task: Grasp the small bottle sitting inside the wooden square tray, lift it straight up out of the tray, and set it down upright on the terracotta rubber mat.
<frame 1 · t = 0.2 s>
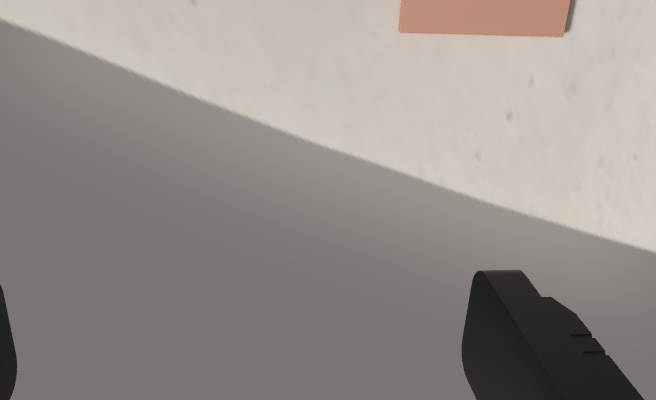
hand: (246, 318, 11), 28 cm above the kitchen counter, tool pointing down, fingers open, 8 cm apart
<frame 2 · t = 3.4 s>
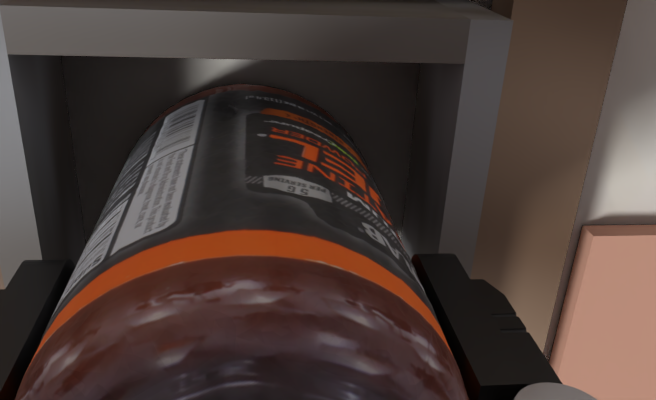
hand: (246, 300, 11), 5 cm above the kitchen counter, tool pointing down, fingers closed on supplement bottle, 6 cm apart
wooden square tray: (247, 193, 15), on the kitchen counter
supplement bottle: (247, 190, 16), resting in wooden square tray, touching gripper
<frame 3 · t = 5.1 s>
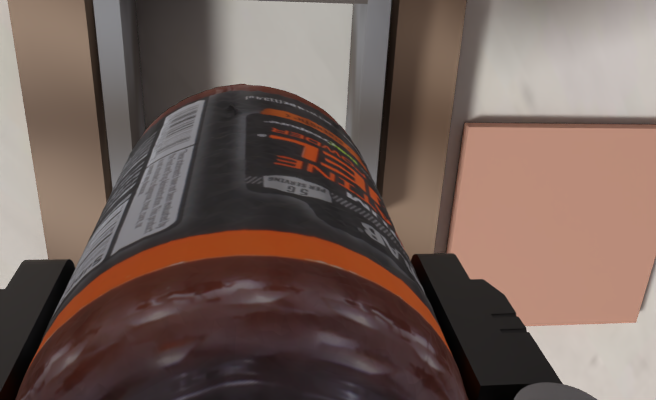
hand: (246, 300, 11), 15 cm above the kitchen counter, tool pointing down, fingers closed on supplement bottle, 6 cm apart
wooden square tray: (247, 96, 25), on the kitchen counter
mat: (554, 228, 29), on the kitchen counter
supplement bottle: (247, 190, 16), point 10 cm above the kitchen counter, touching gripper
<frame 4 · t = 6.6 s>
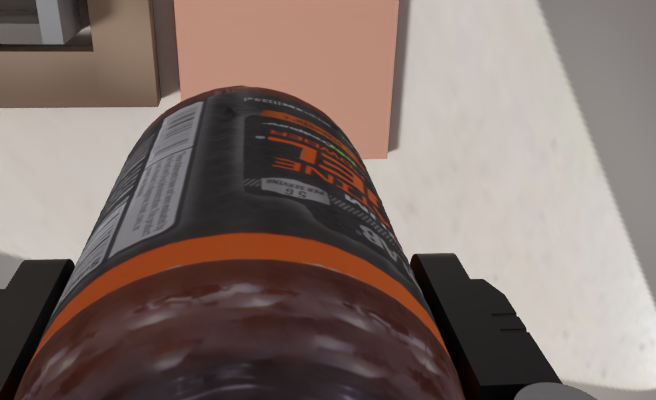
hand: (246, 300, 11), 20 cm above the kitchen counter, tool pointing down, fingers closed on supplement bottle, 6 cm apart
mat: (287, 57, 30), on the kitchen counter
supplement bottle: (246, 192, 16), point 15 cm above the kitchen counter, touching gripper
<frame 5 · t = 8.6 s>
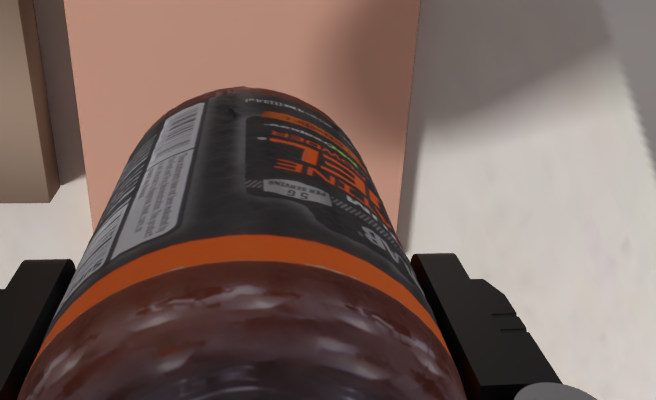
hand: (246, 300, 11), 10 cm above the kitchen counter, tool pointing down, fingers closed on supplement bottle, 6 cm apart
mat: (248, 128, 20), on the kitchen counter
supplement bottle: (247, 192, 16), point 5 cm above the kitchen counter, touching gripper
when the fingers open (6 cm above the kitchen counter, at t = 10.2 s): supplement bottle drops 1 cm, resting on mat.
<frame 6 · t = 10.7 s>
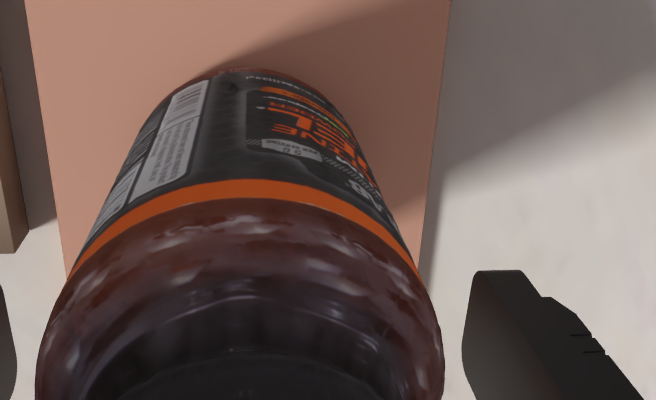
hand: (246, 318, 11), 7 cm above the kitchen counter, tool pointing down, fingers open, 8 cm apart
mat: (247, 164, 17), on the kitchen counter
supplement bottle: (248, 167, 17), resting on mat
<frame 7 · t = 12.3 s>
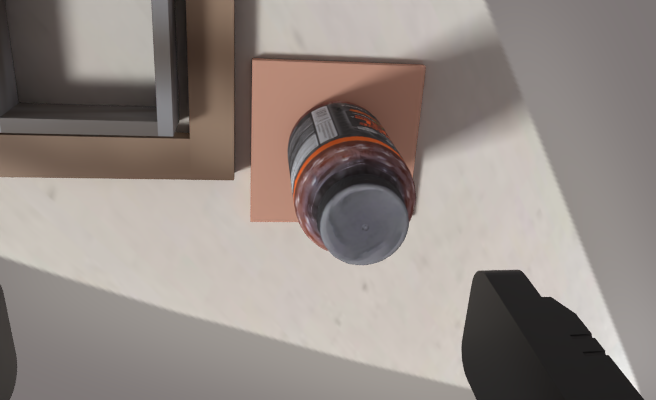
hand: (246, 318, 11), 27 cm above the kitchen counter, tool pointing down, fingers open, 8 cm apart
wooden square tray: (86, 33, 34), on the kitchen counter
mat: (333, 143, 38), on the kitchen counter
supplement bottle: (335, 144, 38), resting on mat
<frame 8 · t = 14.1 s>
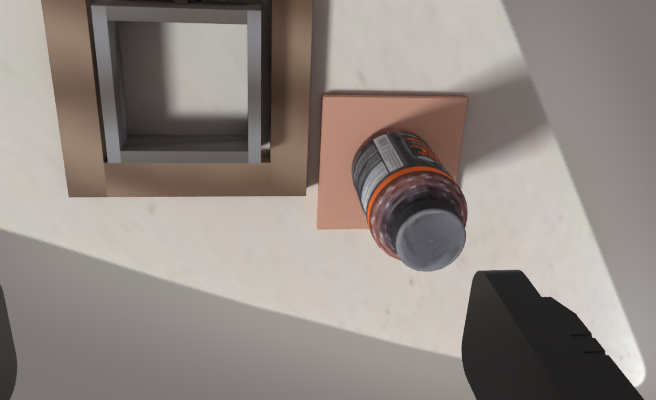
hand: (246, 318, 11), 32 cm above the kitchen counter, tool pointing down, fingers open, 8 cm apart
wooden square tray: (186, 77, 41), on the kitchen counter
mat: (388, 163, 45), on the kitchen counter
supplement bottle: (390, 164, 45), resting on mat
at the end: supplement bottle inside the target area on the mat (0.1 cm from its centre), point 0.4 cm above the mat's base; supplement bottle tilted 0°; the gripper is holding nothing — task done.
